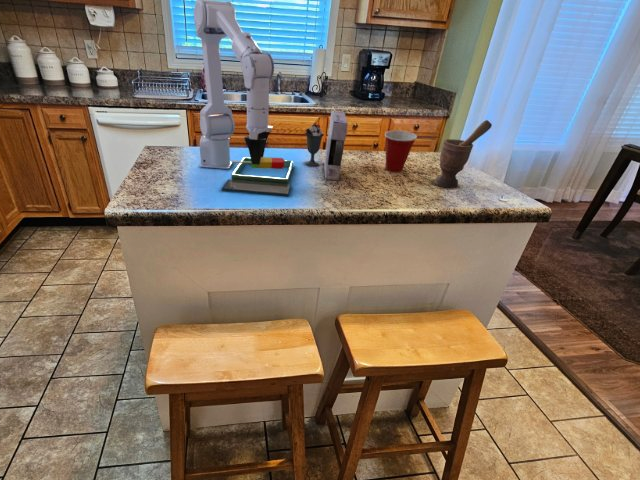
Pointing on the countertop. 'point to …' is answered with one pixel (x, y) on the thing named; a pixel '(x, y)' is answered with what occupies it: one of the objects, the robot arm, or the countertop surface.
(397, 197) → the countertop surface
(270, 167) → the popsicle
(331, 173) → the cake pan box
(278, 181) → the baking frame
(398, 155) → the plastic cup
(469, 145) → the mortar and pestle
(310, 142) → the sundae
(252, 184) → the slate board
